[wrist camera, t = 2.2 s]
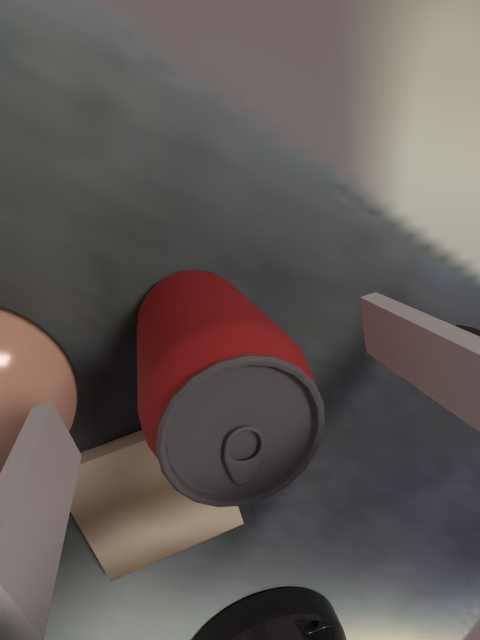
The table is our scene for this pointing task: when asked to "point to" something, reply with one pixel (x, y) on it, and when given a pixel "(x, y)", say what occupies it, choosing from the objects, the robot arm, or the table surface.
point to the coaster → (31, 377)
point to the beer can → (222, 392)
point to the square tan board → (138, 508)
